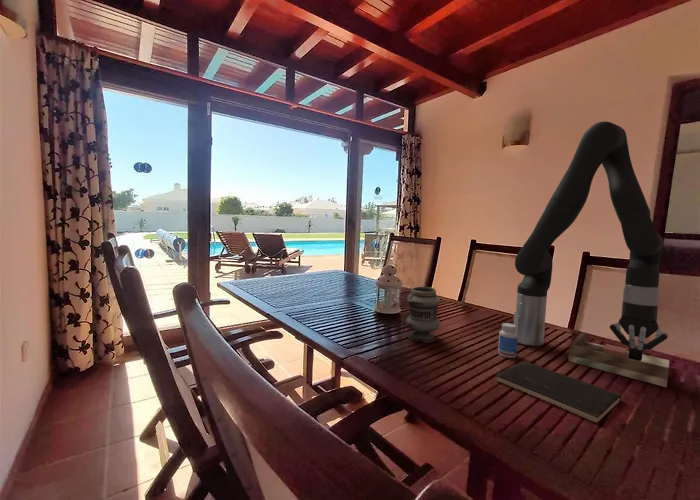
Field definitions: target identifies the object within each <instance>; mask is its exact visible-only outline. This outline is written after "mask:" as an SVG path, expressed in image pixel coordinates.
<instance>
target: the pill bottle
mask: <svg viewBox="0 0 700 500" xmlns="http://www.w3.org/2000/svg"><path fill="white" fill-rule="evenodd" d="M515 331H516V325H514V323H508V322H506V323H502V324H501V330H500V331H499V332H498V333H499V334H498V347H497V349H498V350H497V353H498V355H499V356H501V357H504V358H508V359H509V358H511V359H513V358H516V357H517V354H518V344H519V343H518V334H517V333H516V332H515Z"/></svg>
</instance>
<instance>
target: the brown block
mask: <svg viewBox="0 0 700 500" xmlns="http://www.w3.org/2000/svg"><path fill="white" fill-rule="evenodd" d="M603 346H604V348H603V352H604V353H608V354H613V355H617V356H621V357H625V358H626V357H627V351H628V348H627V347H626V348H625V347H623V346H622V347H621V346H617V345H612V344H609V343H606V344H605V345H603Z"/></svg>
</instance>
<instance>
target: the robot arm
mask: <svg viewBox="0 0 700 500" xmlns="http://www.w3.org/2000/svg"><path fill="white" fill-rule="evenodd" d="M632 163H633V162H632V160H631V156H630V150H629V144H628V138H627V133H626V130H625V129H623V127H622V126H619V125H618V124H616V123H613V122H611V121H599V122H597V123H594V124H593V125H591V126H590V127H589V128H588V129H586V131H584V133H583V134H582V137H581V139H580V141H579V143H578V145H577V148H576V151H575V153H574V155H573V157H572V160H571V162H570V164H569V166H568V169H567V170H566V172H565V173H564V175H563V177H562V178H561V180H560V182H559V184H558V185H557V187H556V189H555V190H554V192H553V194H552V195H551V197H550V199H549V201H548V203H547V204H546V206H545V209H544V211H543V213H542V214H541V216H540V217H539V219H538V221H537V223H536V225H535V226H534V229H533V230H532V232H531V234H529V235H530V236H529V237H528V238H527V239H526V241H525V242H524V244H523V245H522V247H521V248H520V250H519V251H518V253H517V254H516V255H515V256H516V257H515V259H514V266H515V269H516V271H517V272H518V273H519V274H521V275H523V279H522V281H521V282H520V283H518V285H517V290H516V293H517V294H516V305H515V311H514V313H513V324H514V325H516V331H515V332H516V333H517V334H518V343H517V344H522V345H526V346H531V347H540V346H543V345H544V341H545V326H546V325H545V324H546V314H547V312H546V311H547V301H548V291H549V289H550V286H551V284H552V283H551V282H552V275H553V268H554V267H553V266H554V265H553V264H554V263H553V258H552V255H551V254H550V252H549V249H550V248H551V246H552V245H553V243H555V241H556V240H557V239H558V238H559V237H560V236H561V235H562V234H563V233H565V231H566V230H567V229H569V228H570V227H571V226H572V225H573V223H574V222H575V221H576V219H577V218H578V216H579V215H580V213H581V211H582V210H583V208H584V207H585V204H586V202H587V199H588V196H589V194H590V191H591V187H592V182H593V179H594V176H595V175H596V172H597V171H598V169H599V168H600V167H601V165H602V167H603V169H604V171H605V173H606V177H607V181H608V190H609V195H610V199H611V203H612V206H613V208H614V211H615V213H616V216H617V219H618V220H619V223H620V225H621V231H622V234H623V238H624V241H625V245H626V247H627V249H628V250H629V262H628V263H629V264H628V265H627V267H626V271H625V280H624V281H625V282H624V288H623V293H622V305H621V306H622V307H621V316H620V319H618V322H616V323H611V324H610V325H609V329H610V330H611V331H612V333H613V334H614V335H615V337H616V338H617V339H618V340H619V342H620V343H621V344H622V345H625V346H627V347H628V348H629V350H628V351H629V359H634V360H638V361H641V360H642V354H643V355H644V353H643V351H645V350H648V351H651V350H652V349H654V348H655V347H656V346H658V345H659V344H661V343H662V342H664V341H665V340H666V339H668V337H669V336H668V333H667V332H664V331H662V330H661V329H660V327H659V324H658V322H657V321H658V310H659V303H660V299H659V297H660V293H659V283H660V282H659V281H660V264H661V259H662V255H663V247H664V241H663V240H664V239H663V238H662V235H660V234H659V233H658V232H657V229H656V227H655V225H654V223H653V220H652V218H651V210H650V207H649V205H648V202H647V200H646V198H645V194H644V192H643V190H642V187H641V185H640V183H639V181H638V178H637V175H636V173H635V170H634V167H633V164H632ZM621 329H623V331H624V332H625V333H626V334H627V335H628V339H627V338H626V336H625V334H624V333H623V332H622V331H621ZM654 333H655V334H654ZM653 334H654V336H655V337H654V339H652V340H651V341H649V342H647V343H645V342H646V341H645V340H646V339H647V338H649V337H650V336H652V335H653ZM637 338H638V341H636V339H637ZM636 342H637V344H636ZM636 345H637V346H636Z"/></svg>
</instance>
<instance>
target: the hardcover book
mask: <svg viewBox="0 0 700 500" xmlns="http://www.w3.org/2000/svg"><path fill="white" fill-rule="evenodd" d="M494 376H495V377H496V382H498V381H499V382H498V383H500V382H501V383H500V384H503V383H504V384H503V385H505V384H506V386H507V385H509V386H508V387H510V386H511V387H510V388H512V387H513V389H515V388H516V389H515V390H517V389H519V390H521V391H520V392H522V391H523V392H522V393H524V392H526V393H528V394H527V395H529V394H531V395H533V396H532V397H534V396H536V397H538V398H540V399H539V400H541V399H542V400H541V401H543V400H545V401H544V402H546V401H547V402H546V403H548V402H550V403H552V404H551V405H553V404H555V405H557V406H559V407H558V408H560V407H561V408H560V409H562V408H563V410H565V409H566V410H565V411H567V410H568V412H569V411H570V413H572V414H574V413H575V414H574V415H576V414H577V416H579V417H582V418H584V419H587V420H588V421H590V422H594V423H596V424H598V422H599V421H600V420H602V419H603V418H604V417H605V415H607V414H608V413H609V412H610V411H611V410H612V409H613V408H614V407H615V406H616V405H618V404H619V402H622V394H621V393H617V392H614V391H611V390H608V389H605V388H603V387H600V386H597V385H595V384H591V383H588V382H585V381H583V380H580V379H577V378H574V377H571V376H569V375H567V374H566V375H565V374H563V373H559V372H557V371H553V370H551V369H549V368H544V367H542V366H539V365H537V364H534V363H531V362H528V361H525V360H523V361H521V362H518V363H516V364H515V365H512V366H510V367H508V368H506V369H504V370H502V371H499V372H497V373H496V374H494ZM519 390H518V391H519ZM526 393H525V394H526ZM531 395H530V396H531ZM536 397H535V398H536ZM538 398H537V399H538ZM550 403H549V404H550ZM555 405H554V406H555ZM557 406H556V407H557Z"/></svg>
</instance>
